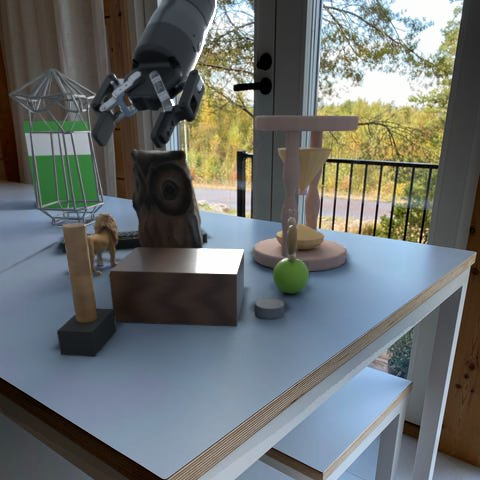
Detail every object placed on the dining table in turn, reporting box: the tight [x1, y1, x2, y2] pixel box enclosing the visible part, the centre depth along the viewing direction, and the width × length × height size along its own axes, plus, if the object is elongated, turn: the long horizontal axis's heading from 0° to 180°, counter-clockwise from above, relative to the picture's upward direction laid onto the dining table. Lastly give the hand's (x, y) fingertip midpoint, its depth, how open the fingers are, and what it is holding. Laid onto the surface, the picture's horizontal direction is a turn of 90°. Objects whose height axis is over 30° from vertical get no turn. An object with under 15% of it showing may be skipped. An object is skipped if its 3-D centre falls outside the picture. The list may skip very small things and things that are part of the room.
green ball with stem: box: [272, 209, 310, 294], centre depth 71 cm, size 5×6×12 cm
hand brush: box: [56, 222, 117, 357], centre depth 54 cm, size 4×7×14 cm, turn 174°
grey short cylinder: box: [254, 297, 285, 320], centre depth 64 cm, size 4×4×2 cm
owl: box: [130, 148, 204, 249], centre depth 83 cm, size 13×13×20 cm
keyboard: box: [61, 229, 208, 253], centre depth 103 cm, size 30×11×2 cm, turn 107°
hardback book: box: [22, 120, 98, 209], centre depth 141 cm, size 18×7×24 cm, turn 110°
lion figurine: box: [87, 212, 119, 276], centre depth 82 cm, size 15×5×9 cm, turn 171°
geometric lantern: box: [8, 68, 105, 227], centre depth 113 cm, size 16×16×35 cm
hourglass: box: [252, 115, 360, 272], centre depth 86 cm, size 18×18×25 cm
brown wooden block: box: [108, 247, 245, 327], centre depth 66 cm, size 17×12×7 cm
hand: (126, 142), depth 57 cm, fingers open, 8 cm apart
